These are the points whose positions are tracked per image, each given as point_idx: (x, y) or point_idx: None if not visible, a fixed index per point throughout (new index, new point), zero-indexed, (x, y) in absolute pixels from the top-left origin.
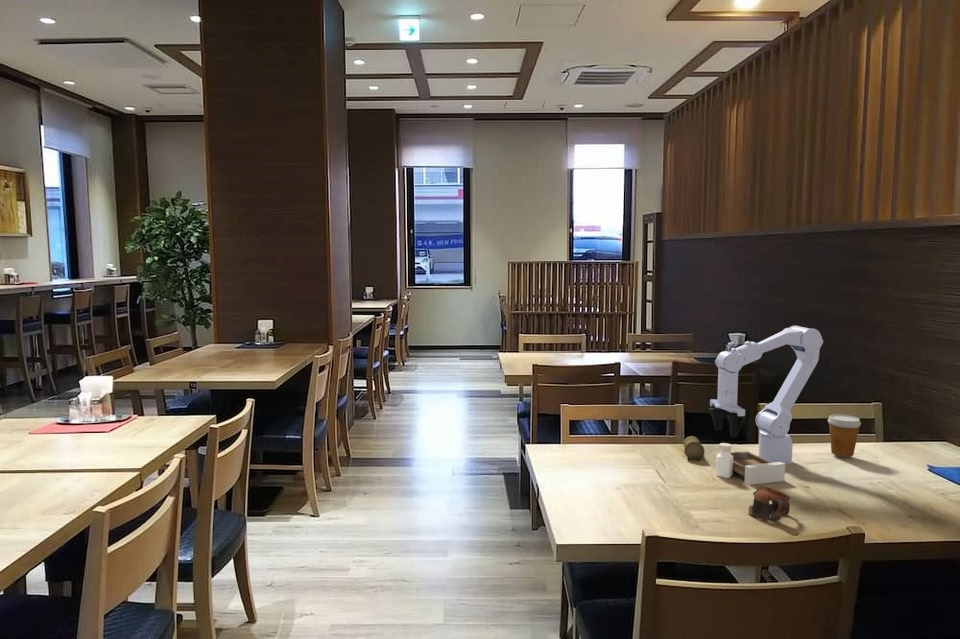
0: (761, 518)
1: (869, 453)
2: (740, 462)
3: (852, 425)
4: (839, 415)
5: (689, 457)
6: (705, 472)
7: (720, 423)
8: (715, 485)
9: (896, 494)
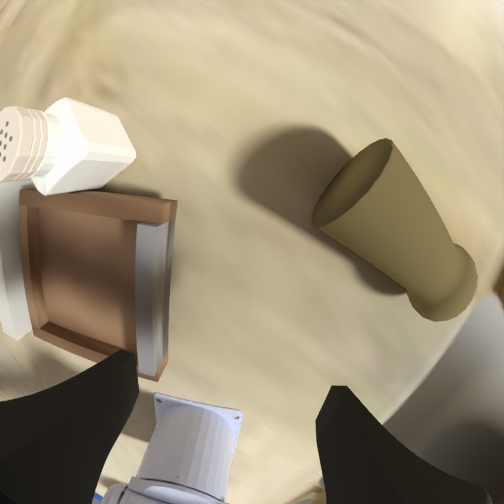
0: None
1: None
2: (102, 268)
3: None
4: None
5: (352, 160)
6: (173, 104)
7: (330, 456)
8: (69, 67)
9: (3, 393)
